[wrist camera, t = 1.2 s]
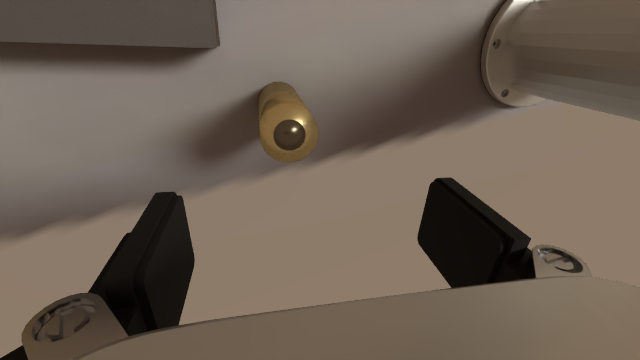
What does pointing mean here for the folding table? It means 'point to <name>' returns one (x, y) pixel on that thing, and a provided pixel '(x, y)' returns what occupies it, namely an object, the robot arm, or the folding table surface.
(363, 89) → the folding table surface
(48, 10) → the jig
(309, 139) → the brass cylinder
